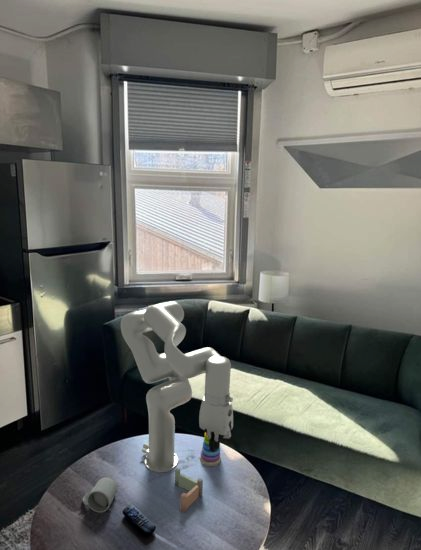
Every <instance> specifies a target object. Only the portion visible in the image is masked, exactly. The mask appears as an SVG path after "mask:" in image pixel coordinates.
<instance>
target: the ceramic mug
mask: <svg viewBox="0 0 421 550" xmlns="http://www.w3.org/2000/svg"><path fill="white" fill-rule="evenodd" d="M117 492H118V484H117V482H116V481H115V479H113V478H112V477H109V476H104V477H102V478H100V479H98V481H97V482H96V483H95V486H94V487H93V488H92V489H91V490H89V491H88V492H86V494H84V496H83V498H82V503H83V504H84V506H88V507H89V509H91V511H93V512H96V513H100V514H101V513H105V512H106V511H107V510H108V509H109V508H110V506H111V504H112V502H113V500H114V498H115V496H116V495H117Z"/></svg>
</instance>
